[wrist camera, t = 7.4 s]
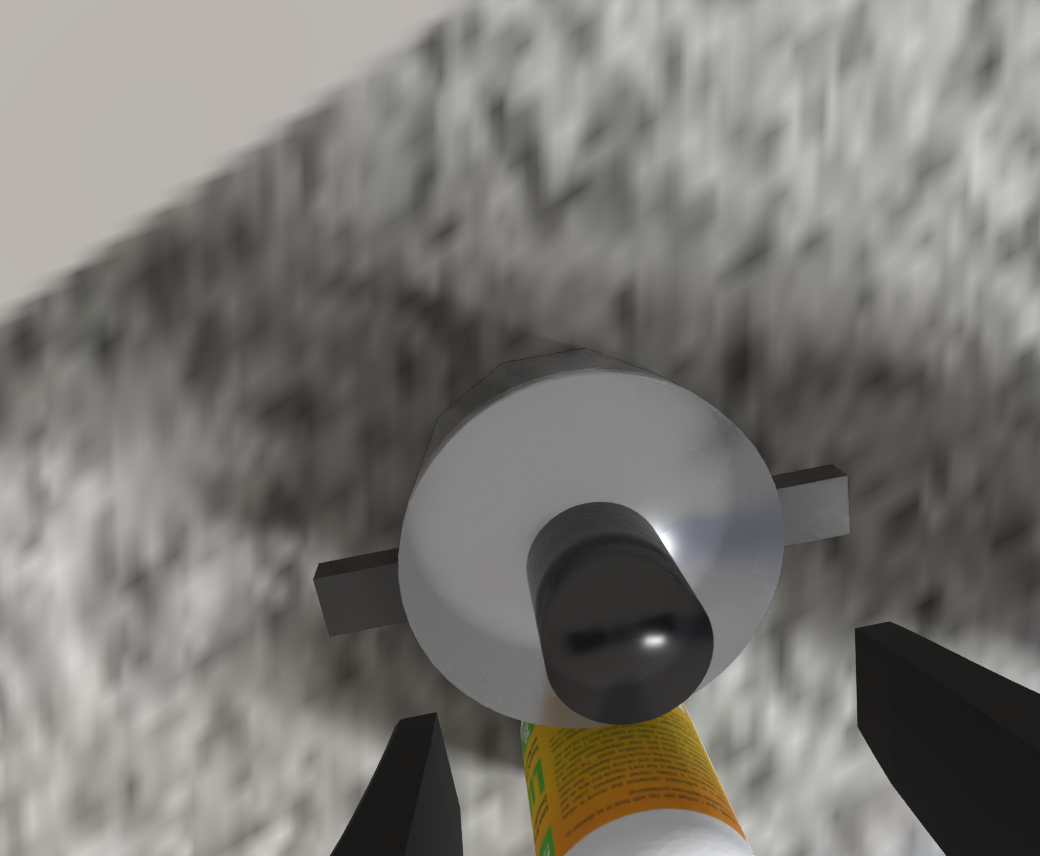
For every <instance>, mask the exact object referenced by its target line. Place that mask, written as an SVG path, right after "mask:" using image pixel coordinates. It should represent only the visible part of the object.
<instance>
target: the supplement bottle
mask: <svg viewBox="0 0 1040 856" xmlns="http://www.w3.org/2000/svg"><path fill="white" fill-rule="evenodd" d="M521 745H522V754H523V762H524V769H525V776H526V784H527V791H528V798H529V805H530V812H531V820H532V827H533V834H534V843H535V851H536V856H754V854H753V852H752V850H751V847H750V845H749V843H748V841H747V839H746V837H745V835H744V832H743V830H742V828H741V826H740V824H739V822H738V820H737V817H736V815H735V813H734V811H733V809H732V807H731V804H730V802H729V800H728V798H727V796H726V794H725V791H724V789H723V787H722V785H721V783H720V781H719V778H718V776H717V774H716V772H715V770H714V768H713V765H712V763H711V761H710V759H709V757H708V754H707V752H706V750H705V748H704V746H703V744H702V741H701V739H700V737H699V735H698V733H697V730H696V728H695V726H694V724H693V722H692V720H691V718H690V715H689V713H688V711H687V709H686V707H685V705H684V703H682V704H680V705H679V706H678V707H676V708H675V709H673V710H671V711H670V712H668V713H666V714H664V715H662V716H660V717H657V718H655V719H652V720H649V721H645V722H641V723H636V724H629V725H610V726H603V727H596V728H559V727H548V726H543V725H537V724H532V723H527V722H524V721H521Z"/></svg>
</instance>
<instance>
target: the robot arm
mask: <svg viewBox="0 0 1040 856" xmlns="http://www.w3.org/2000/svg"><path fill="white" fill-rule="evenodd" d="M855 648H856V685H857V722H858V728H859V730H860V732H861V733H862V735H863V737H864V739H865V740H866V742H867V744H868V746H869V747H870V749H871V751H872V753H873V754H874V756H875V758H876V759H877V761H878V763H879V764H880V766H881V768H882V769H883V771H884V772H885V774H886V776H887V777H888V779H889V781H890V782H891V784H892V785H893V786H894V788H895V789H896V790H897V792H898V793H899V795H900V796H901V797H902V799H903V800H904V801H905V802H906V804H907V805H908V806H909V808H910V809H911V810H912V812H913V813H914V814H915V816H916V817H917V818H918V820H919V821H920V822H921V824H922V825H923V826H924V827H925V829H926V830H927V831H928V833H929V834H930V835H931V837H932V838H933V839H934V840H935V842H936V843H937V844H938V846H939V847H940V848H941V849H942V851H943V852H944V853H945V855H946V856H1040V694H1039V693H1037V692H1035V691H1033V690H1030V689H1028V688H1026V687H1024V686H1022V685H1020V684H1018V683H1015V682H1013V681H1011V680H1009V679H1007V678H1005V677H1003V676H1001V675H999V674H997V673H995V672H993V671H990V670H988V669H986V668H984V667H982V666H980V665H978V664H976V663H974V662H972V661H970V660H968V659H966V658H964V657H962V656H960V655H958V654H956V653H954V652H952V651H950V650H948V649H946V648H944V647H942V646H940V645H938V644H936V643H934V642H932V641H930V640H928V639H926V638H924V637H922V636H920V635H918V634H916V633H914V632H912V631H910V630H908V629H905V628H903V627H901V626H899V625H897V624H894V623H892V622H885V623H880V624H875V625H870V626H865V627H860V628H855ZM330 856H463V845H462V830H461V815H460V806H459V802H458V798H457V794H456V790H455V786H454V781H453V777H452V773H451V769H450V765H449V761H448V757H447V753H446V749H445V745H444V741H443V737H442V733H441V728H440V724H439V720H438V716H437V712H435V713H430V714H425V715H420V716H415V717H410V718H405V719H401V720H400V721H399V722H398V724H397V725H396V726H395V728H394V731H393V733H392V735H391V738H390V740H389V742H388V745H387V747H386V749H385V751H384V754H383V756H382V758H381V760H380V762H379V764H378V767H377V769H376V771H375V773H374V775H373V777H372V779H371V781H370V783H369V785H368V787H367V789H366V791H365V793H364V795H363V797H362V799H361V801H360V803H359V805H358V806H357V808H356V810H355V812H354V814H353V816H352V818H351V820H350V822H349V824H348V825H347V827H346V829H345V831H344V833H343V835H342V836H341V838H340V840H339V841H338V843H337V845H336V846H335V848H334V850H333V851H332V853H331V855H330Z"/></svg>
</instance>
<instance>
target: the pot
mask: <svg viewBox="0 0 1040 856" xmlns="http://www.w3.org/2000/svg"><path fill="white" fill-rule="evenodd" d="M589 368H596V369H620V370H627V371H634V372H641V373H644V374H648V375H651V376H655V377H658V378H662V377H661V376H660V375H658V374H655V373H652V372H649V371H647V370H644V369H641V368H638V367H635V366H633V365H630V364H627V363H624V362H621V361H619V360H616V359H613V358H610V357H608V356H605V355H602V354H599V353H596V352H594V351H591V350H588V349H585V348H582V349H577V350H571V351H566V352H561V353H555V354H550V355H544V356H539V357H533V358H528V359H523V360H517V361H512V362H506V363H502V364H501V365H499V366H498V367H497V368H496V369H495V370H494V371H492V372H491V373H490V374H489V375H488V376H486V377H485V378H484V379H483V380H482V381H480V382H479V383H478V384H477V385H476V386H474V387H473V388H472V389H471V390H470V391H468V392H467V393H466V394H465V395H464V396H462V397H461V398H460V399H459V400H458V401H456V402H455V403H454V404H453V405H452V406H450V407H449V408H448V409H447V410H446V411H444V412H443V413H442V414H441V415H440V416H439V417H438V420H437V423H436V426H435V428H434V431H433V434H432V437H431V440H430V443H429V445H428V448H427V451H426V454H425V457H424V460H423V462H422V465H421V468H420V471H419V474H420V473H421V471H422V469H423V468H424V466H425V465H426V463H427V461H428V460H429V458H430V456H431V455H432V453H433V452H434V451H435V449H436V448H437V447H438V446H439V445H440V443H441V442H442V441H443V440H444V439H445V437H446V436H447V435H448V434H449V433H450V432H451V431H452V430H453V429H454V428H455V427H456V426H457V425H458V424H459V423H460V422H461V421H462V420H463V419H465V418H466V417H467V416H468V415H469V414H470V413H472V412H473V411H475V410H476V409H477V408H479V407H480V406H482V405H483V404H484V403H486V402H487V401H489V400H490V399H492V398H494V397H496V396H498V395H499V394H501V393H503V392H505V391H507V390H509V389H511V388H512V387H515V386H518V385H520V384H523V383H525V382H528V381H531V380H533V379H536V378H539V377H543V376H547V375H551V374H555V373H559V372H563V371H571V370H580V369H589ZM662 379H663V378H662ZM419 474H418V477H419ZM418 477H417V479H418ZM417 479H416V481H417ZM772 479H773V481H774V483H775V485H776V489H777V493H778V496H779V500H780V503H781V507H782V515H783V523H784V547H786V546H791V545H796V544H801V543H806V542H811V541H817V540H822V539H827V538H832V537H837V536H842V535H847V534H850V523H849V487H848V475H847V474H845V473H844V472H842V471H841V470H839V469H838V468H836V467H835V466H833V465H832V464H831V465H826V466H821V467H816V468H811V469H805V470H800V471H795V472H790V473H785V474H780V475H774V476H772ZM415 483H416V482H415ZM414 486H415V485H414ZM398 554H399V548H396V549H391V550H386V551H381V552H376V553H370V554H365V555H360V556H355V557H350V558H344V559H339V560H334V561H329V562H324V563H319V565H318V567H317V570H316V573H315V576H314V578H313V581H314V584H315V588H316V591H317V594H318V598H319V601H320V605H321V608H322V612H323V615H324V619H325V622H326V626H327V629H328V632H329V636H334V635H339V634H344V633H349V632H354V631H359V630H364V629H369V628H375V627H380V626H385V625H390V624H395V623H400V622H405V621H408V619H407V616H406V612H405V609H404V606H403V603H402V598H401V591H400V585H399V574H398Z"/></svg>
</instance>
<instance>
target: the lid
mask: <svg viewBox="0 0 1040 856" xmlns="http://www.w3.org/2000/svg"><path fill="white" fill-rule="evenodd" d="M783 556H784V523H783V515H782V507H781V503H780V500H779V496H778V493H777V489H776V485H775V483H774V481H773V479H772V476H771V474H770V472H769V470H768V467H767V465H766V463H765V462H764V460H763V459H762V457H761V456H760V454H759V452H758V451H757V449H756V448H755V446H754V445H753V443H752V442H751V441H750V440H749V439H748V438H747V437H746V435H745V434H744V433H743V432H742V431H741V430H740V429H739V427H738V426H736V425H735V424H734V423H733V422H732V421H731V420H729V419H728V418H727V417H726V416H725V415H724V414H722V413H721V412H720V411H719V410H717V409H716V408H715V407H714V406H712V405H711V404H710V403H708V402H707V401H705V400H704V399H702V398H701V397H699V396H697V395H696V394H694V393H693V392H691V391H689V390H688V389H685V388H683V387H681V386H679V385H676V384H674V383H672V382H670V381H668V380H665V379H662V378H658V377H655V376H651V375H648V374H644V373H641V372H634V371H627V370H620V369H596V368H589V369H580V370H571V371H563V372H559V373H555V374H551V375H547V376H543V377H539V378H536V379H533V380H531V381H528V382H525V383H523V384H520V385H518V386H515V387H512V388H511V389H509V390H507V391H505V392H503V393H501V394H499V395H498V396H496V397H494V398H492V399H490V400H489V401H487V402H486V403H484V404H483V405H482V406H480V407H479V408H477V409H476V410H475V411H473V412H472V413H470V414H469V415H468V416H467V417H466V418H465V419H463V420H462V421H461V422H460V423H459V424H458V425H457V426H456V427H455V428H454V429H453V430H452V431H451V432H450V433H449V434H448V435H447V436H446V437H445V439H444V440H443V441H442V442H441V443H440V445H439V446H438V447H437V448H436V449H435V451H434V452H433V453H432V455H431V456H430V458H429V460H428V461H427V463H426V465H425V466H424V468H423V469H422V471H421V473H420V474H419V477H418V479H417V481H416V483H415V486H414V488H413V490H412V493H411V495H410V498H409V501H408V505H407V508H406V512H405V515H404V519H403V525H402V532H401V539H400V547H399V554H398V574H399V585H400V591H401V598H402V603H403V606H404V609H405V612H406V616H407V619H408V622H409V625H410V627H411V629H412V631H413V633H414V635H415V637H416V639H417V641H418V643H419V645H420V646H421V648H422V649H423V651H424V652H425V654H426V655H427V656H428V658H429V659H430V661H431V662H432V664H433V665H434V666H435V667H436V668H437V669H438V670H439V671H440V672H441V673H442V674H443V676H444V677H445V678H446V679H447V680H448V681H450V682H451V683H452V684H453V685H454V686H456V687H457V688H458V689H459V690H460V691H462V692H463V693H464V694H466V695H467V696H469V697H470V698H472V699H474V700H475V701H477V702H478V703H480V704H482V705H483V706H485V707H487V708H490V709H492V710H494V711H496V712H498V713H500V714H502V715H505V716H508V717H511V718H514V719H517V720H520V721H524V722H527V723H532V724H537V725H543V726H548V727H559V728H596V727H603V726H610V725H629V724H636V723H641V722H645V721H649V720H652V719H655V718H657V717H660V716H662V715H664V714H666V713H668V712H670V711H671V710H673V709H675V708H676V707H678V706H679V705H680V704H682V703H683V702H684V701H685V700H687V699H688V698H689V697H690V696H691V695H692V694H694V693H695V692H697V691H698V690H700V689H702V688H703V687H705V686H706V685H707V684H708V683H709V682H711V681H712V680H713V679H714V678H716V677H717V676H718V675H719V674H721V673H722V672H723V671H724V670H725V669H726V668H727V667H728V666H729V665H730V664H731V663H732V662H733V661H734V660H735V659H736V658H737V657H738V656H739V654H740V653H741V652H742V650H743V649H744V648H745V647H746V645H747V644H748V643H749V641H750V640H751V639H752V638H753V636H754V634H755V633H756V631H757V629H758V628H759V626H760V624H761V623H762V621H763V619H764V618H765V616H766V613H767V611H768V609H769V607H770V604H771V602H772V600H773V598H774V595H775V591H776V588H777V585H778V581H779V578H780V574H781V568H782V562H783Z"/></svg>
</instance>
